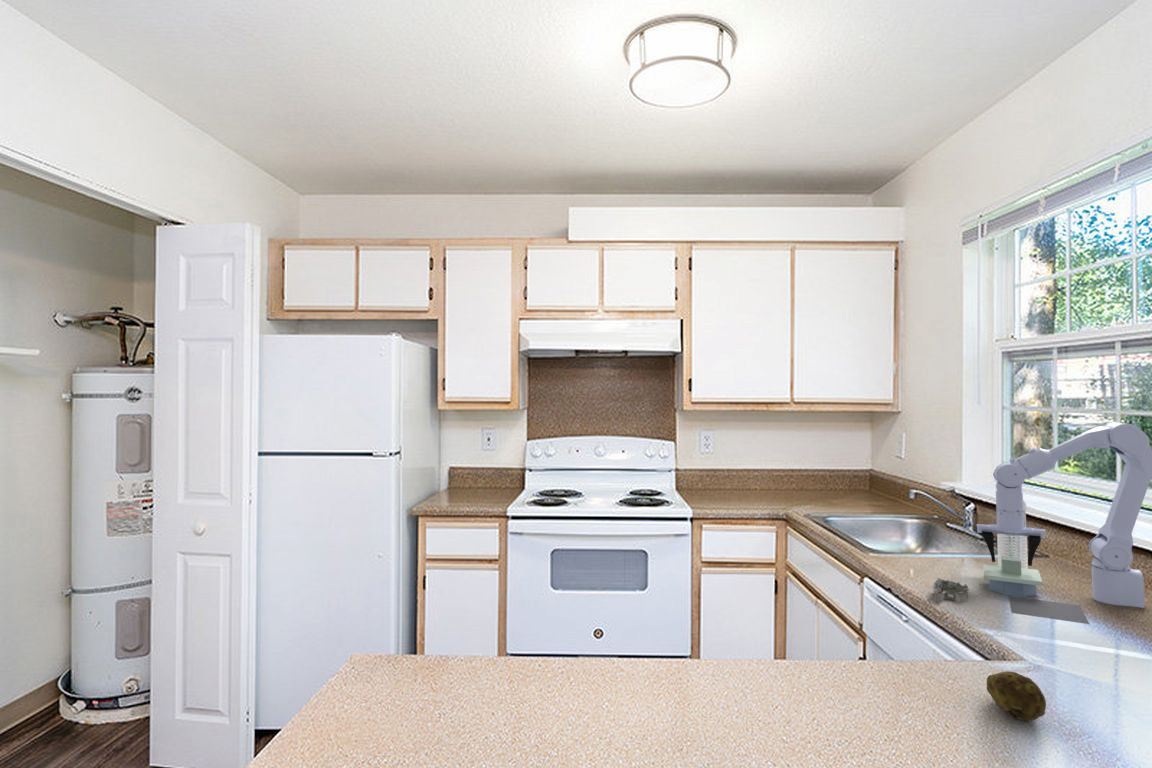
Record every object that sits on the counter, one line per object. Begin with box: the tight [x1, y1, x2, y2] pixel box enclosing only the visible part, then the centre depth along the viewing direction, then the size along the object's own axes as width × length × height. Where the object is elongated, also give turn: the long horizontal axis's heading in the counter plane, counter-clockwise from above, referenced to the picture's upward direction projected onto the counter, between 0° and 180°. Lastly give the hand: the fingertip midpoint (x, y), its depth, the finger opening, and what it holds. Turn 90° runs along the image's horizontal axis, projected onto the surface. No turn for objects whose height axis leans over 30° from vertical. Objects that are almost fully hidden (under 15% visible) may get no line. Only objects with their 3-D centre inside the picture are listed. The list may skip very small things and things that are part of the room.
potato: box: [986, 670, 1047, 722], centre depth 99 cm, size 8×13×8 cm, turn 140°
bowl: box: [988, 579, 1037, 598], centre depth 160 cm, size 10×10×4 cm
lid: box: [982, 556, 1044, 587], centre depth 160 cm, size 12×12×4 cm
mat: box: [1008, 595, 1090, 625], centre depth 146 cm, size 14×14×1 cm
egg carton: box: [931, 577, 970, 603], centre depth 157 cm, size 11×8×4 cm
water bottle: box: [996, 500, 1029, 569], centre depth 173 cm, size 7×7×25 cm
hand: (1011, 563), depth 160 cm, fingers open, 7 cm apart
